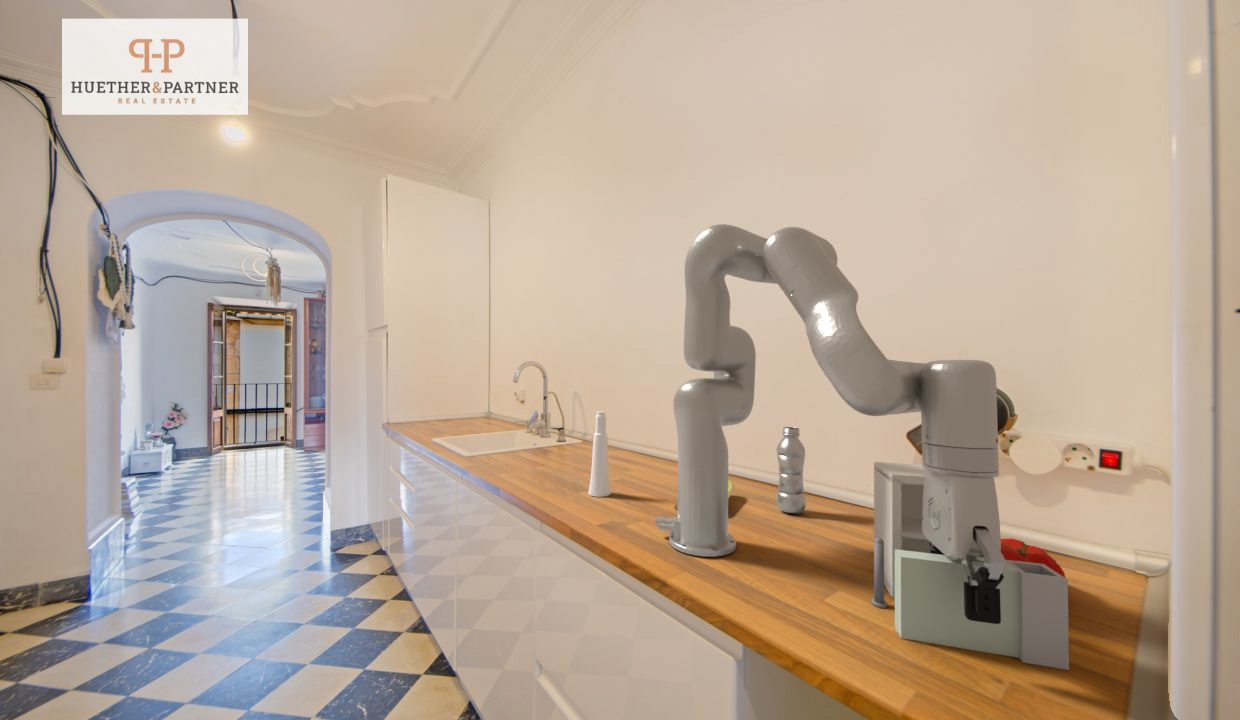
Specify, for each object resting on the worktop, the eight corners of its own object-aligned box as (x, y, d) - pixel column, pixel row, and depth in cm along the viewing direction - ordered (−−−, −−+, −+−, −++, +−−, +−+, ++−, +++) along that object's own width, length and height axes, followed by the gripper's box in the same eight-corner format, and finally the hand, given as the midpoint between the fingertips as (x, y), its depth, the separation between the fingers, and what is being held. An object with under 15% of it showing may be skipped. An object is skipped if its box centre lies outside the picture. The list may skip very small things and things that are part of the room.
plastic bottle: (790, 518, 100) (790, 430, 100) (770, 509, 106) (770, 426, 107) (812, 515, 102) (812, 429, 103) (791, 506, 108) (791, 425, 109)
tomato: (1003, 601, 64) (1002, 556, 64) (963, 569, 75) (963, 530, 75) (1084, 610, 62) (1083, 563, 62) (1031, 576, 73) (1030, 536, 73)
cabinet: (873, 606, 62) (872, 478, 62) (851, 565, 75) (851, 460, 76) (1005, 626, 57) (1004, 488, 58) (957, 579, 71) (956, 467, 71)
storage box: (1044, 647, 53) (1043, 564, 53) (1069, 670, 49) (1067, 579, 49) (892, 623, 58) (892, 546, 58) (903, 642, 54) (903, 559, 54)
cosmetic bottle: (583, 493, 117) (585, 411, 118) (601, 489, 121) (603, 410, 122) (597, 498, 113) (598, 413, 113) (615, 494, 117) (616, 412, 117)
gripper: (901, 447, 64) (903, 566, 63) (954, 471, 47) (958, 633, 46) (962, 450, 61) (965, 574, 61) (1040, 476, 45) (1045, 646, 44)
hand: (962, 599), depth 54 cm, fingers open, 9 cm apart
